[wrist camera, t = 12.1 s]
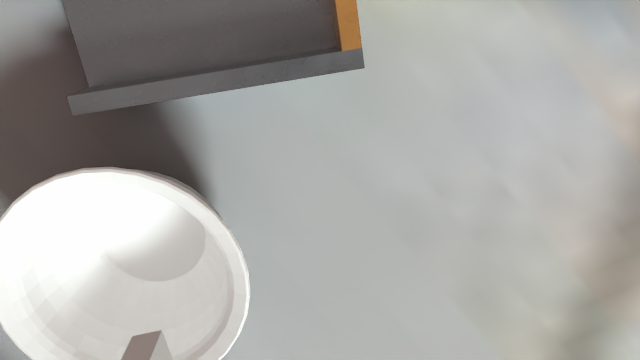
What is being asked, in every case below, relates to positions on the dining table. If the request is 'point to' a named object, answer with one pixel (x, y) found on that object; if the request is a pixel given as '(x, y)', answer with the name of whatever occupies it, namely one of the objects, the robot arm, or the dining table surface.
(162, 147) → the dining table surface
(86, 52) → the grey hollow tray
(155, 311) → the bowl
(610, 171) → the dining table surface
